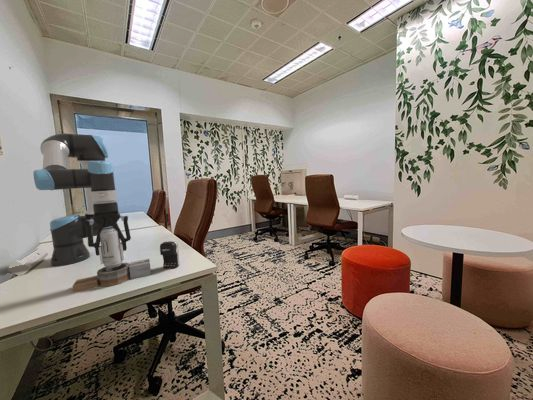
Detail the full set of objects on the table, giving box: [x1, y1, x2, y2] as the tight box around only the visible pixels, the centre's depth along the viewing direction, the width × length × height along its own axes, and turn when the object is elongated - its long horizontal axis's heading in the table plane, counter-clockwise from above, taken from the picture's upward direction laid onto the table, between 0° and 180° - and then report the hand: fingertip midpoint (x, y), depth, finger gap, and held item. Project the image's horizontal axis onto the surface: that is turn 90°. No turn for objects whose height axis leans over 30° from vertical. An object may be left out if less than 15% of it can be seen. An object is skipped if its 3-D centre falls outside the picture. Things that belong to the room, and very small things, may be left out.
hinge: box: [72, 258, 152, 294], centre depth 85 cm, size 10×24×5 cm, turn 119°
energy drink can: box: [100, 227, 124, 268], centre depth 84 cm, size 6×6×15 cm
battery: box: [159, 240, 180, 269], centre depth 94 cm, size 7×4×11 cm, turn 81°
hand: (113, 260), depth 85 cm, fingers closed on energy drink can, 6 cm apart
